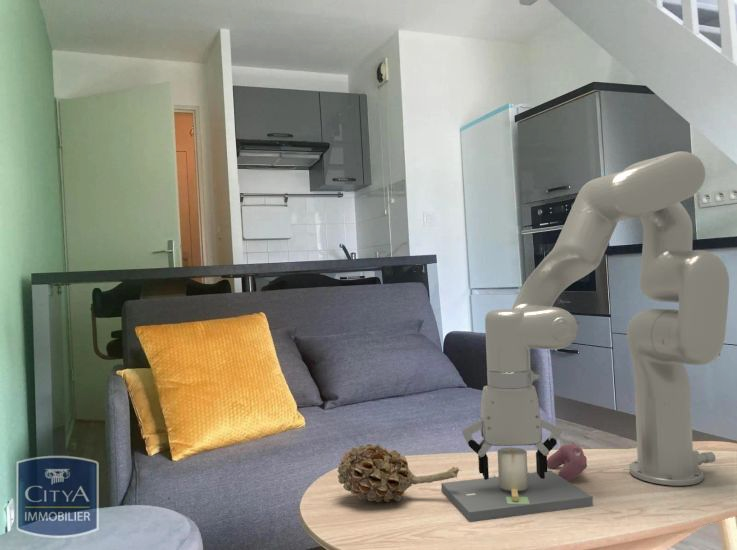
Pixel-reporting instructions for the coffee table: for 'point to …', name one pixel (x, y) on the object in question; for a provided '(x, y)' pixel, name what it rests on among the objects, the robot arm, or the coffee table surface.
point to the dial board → (494, 502)
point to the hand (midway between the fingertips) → (513, 476)
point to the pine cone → (381, 473)
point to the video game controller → (568, 461)
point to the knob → (513, 470)
